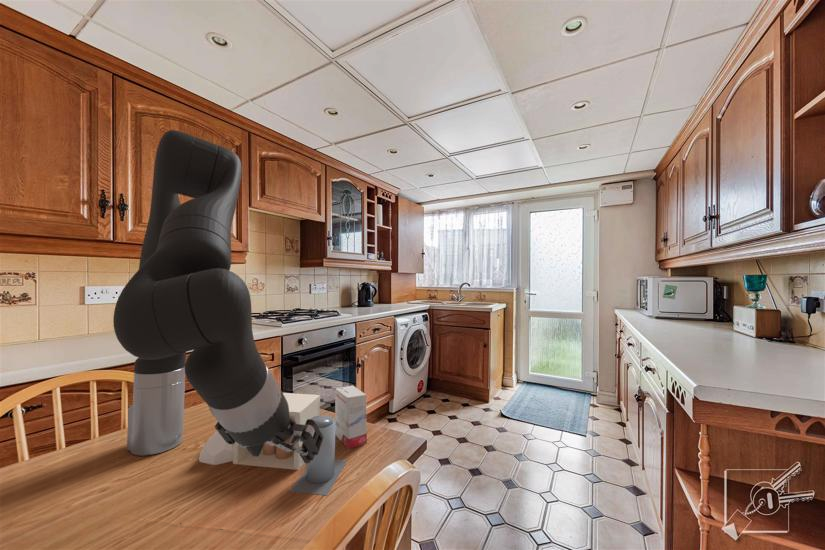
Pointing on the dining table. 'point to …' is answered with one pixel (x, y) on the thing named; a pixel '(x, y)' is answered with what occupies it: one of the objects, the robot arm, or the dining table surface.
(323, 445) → the jar
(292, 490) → the mat
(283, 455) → the rounded tan cylinder
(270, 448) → the brown tapered cup
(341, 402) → the ink box
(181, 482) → the dining table surface
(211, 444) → the white beveled prism
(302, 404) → the cubby
